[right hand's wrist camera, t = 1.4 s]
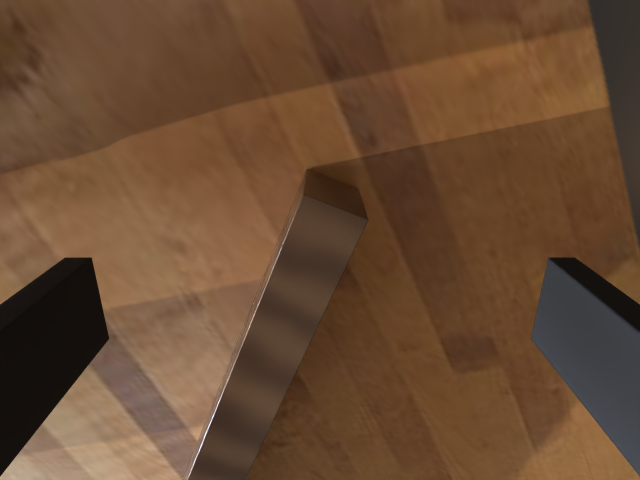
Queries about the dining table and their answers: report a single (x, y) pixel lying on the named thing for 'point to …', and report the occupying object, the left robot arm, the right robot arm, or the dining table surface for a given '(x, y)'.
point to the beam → (279, 325)
